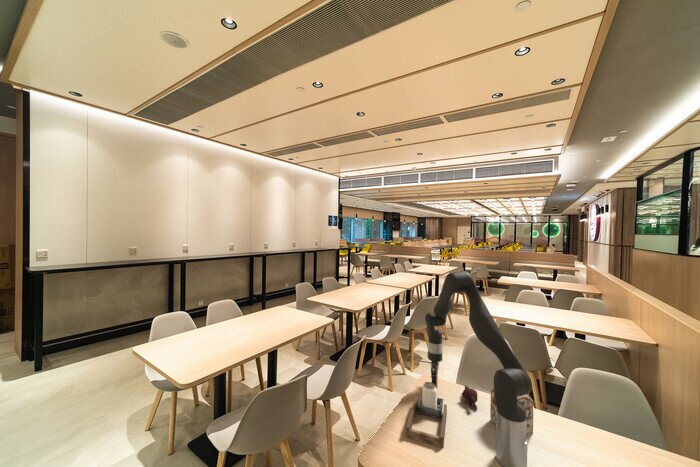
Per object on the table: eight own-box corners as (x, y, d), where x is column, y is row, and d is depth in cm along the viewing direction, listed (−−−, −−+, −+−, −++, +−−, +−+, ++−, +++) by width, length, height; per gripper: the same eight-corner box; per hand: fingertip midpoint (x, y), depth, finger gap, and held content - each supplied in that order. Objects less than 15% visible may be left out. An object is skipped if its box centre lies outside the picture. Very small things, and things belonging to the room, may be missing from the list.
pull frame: (445, 388, 145) (445, 369, 145) (441, 418, 121) (441, 396, 121) (424, 384, 149) (425, 365, 149) (417, 412, 125) (417, 390, 125)
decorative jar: (511, 415, 125) (511, 376, 125) (534, 434, 113) (534, 390, 113) (489, 419, 122) (489, 379, 122) (510, 438, 110) (510, 394, 111)
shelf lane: (446, 413, 126) (446, 404, 126) (443, 447, 105) (443, 437, 105) (414, 405, 131) (415, 397, 131) (405, 436, 111) (406, 426, 111)
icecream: (456, 380, 142) (465, 400, 128) (471, 378, 141) (481, 397, 127) (459, 393, 143) (468, 414, 128) (474, 390, 142) (484, 411, 127)
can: (438, 416, 124) (438, 389, 124) (423, 415, 124) (423, 388, 124) (434, 407, 130) (435, 381, 130) (420, 406, 131) (421, 381, 131)
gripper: (441, 357, 138) (441, 391, 138) (443, 346, 151) (443, 377, 151) (426, 354, 141) (425, 387, 141) (429, 344, 154) (428, 374, 154)
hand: (434, 382), depth 146 cm, fingers open, 5 cm apart
